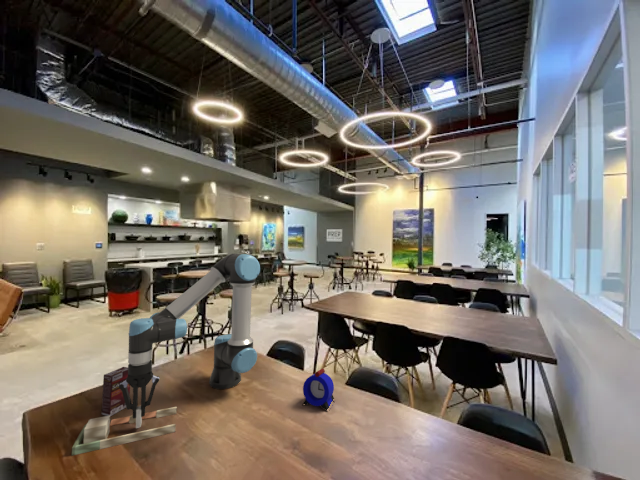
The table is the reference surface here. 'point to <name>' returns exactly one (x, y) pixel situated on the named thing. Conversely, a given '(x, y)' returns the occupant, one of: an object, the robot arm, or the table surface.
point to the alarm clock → (318, 390)
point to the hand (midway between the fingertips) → (138, 425)
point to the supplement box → (114, 391)
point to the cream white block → (97, 429)
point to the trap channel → (129, 437)
